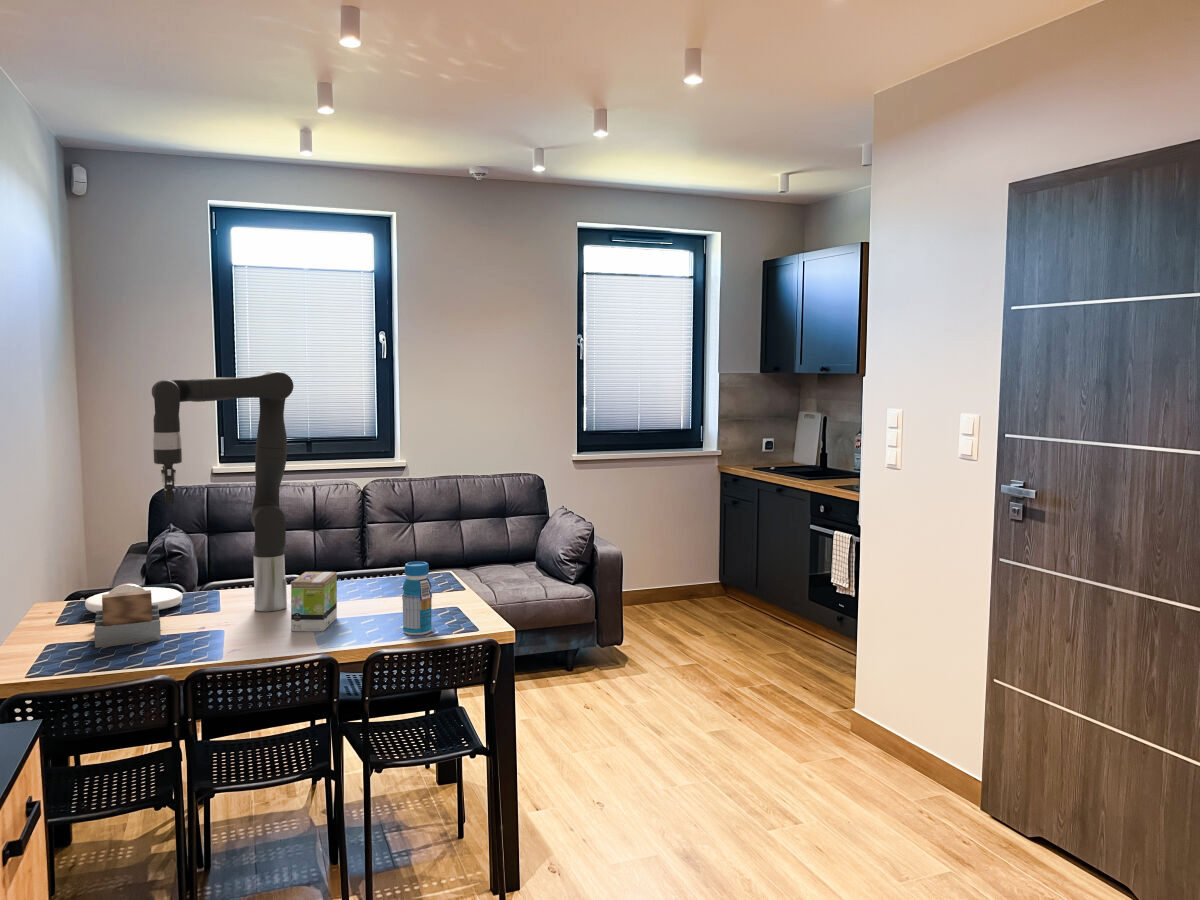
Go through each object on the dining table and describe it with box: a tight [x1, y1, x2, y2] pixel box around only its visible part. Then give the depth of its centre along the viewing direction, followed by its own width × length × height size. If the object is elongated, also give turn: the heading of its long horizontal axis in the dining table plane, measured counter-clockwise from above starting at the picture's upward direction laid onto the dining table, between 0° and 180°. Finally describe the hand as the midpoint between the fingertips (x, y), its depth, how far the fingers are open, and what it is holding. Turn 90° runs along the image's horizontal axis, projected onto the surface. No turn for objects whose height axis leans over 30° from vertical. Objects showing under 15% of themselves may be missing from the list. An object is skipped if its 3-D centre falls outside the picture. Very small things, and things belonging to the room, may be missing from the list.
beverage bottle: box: [401, 561, 433, 636], centre depth 258 cm, size 8×8×20 cm
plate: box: [84, 586, 184, 614], centre depth 283 cm, size 28×6×27 cm
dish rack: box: [93, 583, 162, 649], centre depth 254 cm, size 16×20×13 cm
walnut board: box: [102, 590, 152, 626], centre depth 248 cm, size 12×4×12 cm, turn 118°
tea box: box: [290, 571, 338, 632], centre depth 265 cm, size 15×10×15 cm, turn 3°
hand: (169, 501), depth 267 cm, fingers open, 8 cm apart
